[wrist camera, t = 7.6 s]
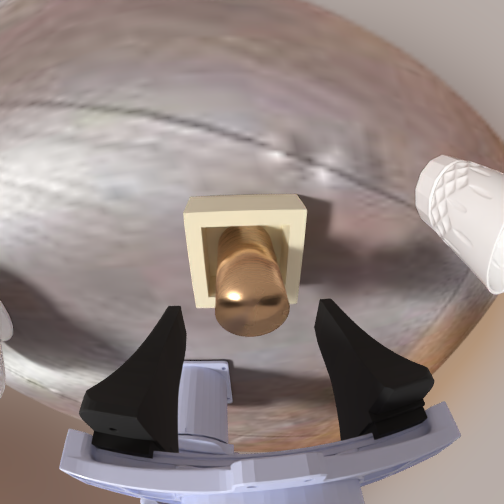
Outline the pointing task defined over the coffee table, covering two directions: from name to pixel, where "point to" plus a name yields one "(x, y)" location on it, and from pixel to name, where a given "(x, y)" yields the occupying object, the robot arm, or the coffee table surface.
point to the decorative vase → (3, 330)
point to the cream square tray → (243, 214)
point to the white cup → (466, 214)
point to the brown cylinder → (249, 283)
